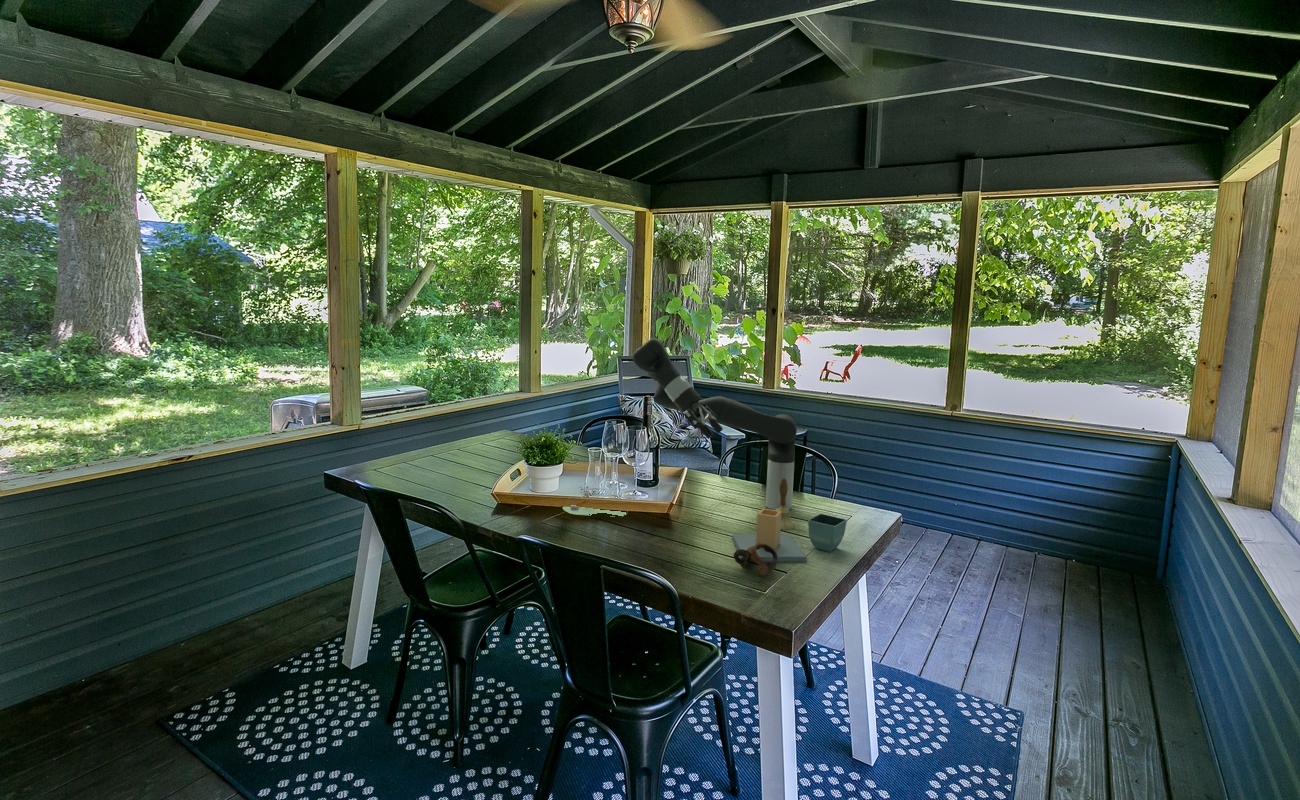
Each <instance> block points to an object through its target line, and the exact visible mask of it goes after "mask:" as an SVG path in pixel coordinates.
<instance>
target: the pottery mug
mask: <svg viewBox="0 0 1300 800" xmlns="http://www.w3.org/2000/svg"><path fill="white" fill-rule="evenodd" d="M759 548H764V549H765V551H766V552H769V553H772V555H773V558H774V560H773V561H768V562H766V564H765V562H764V560H763V559H762V558H761V557H760V556H759V555H758V554H757V552H756V550H758V549H759ZM741 556H743V557H741ZM740 557H741V558H740ZM733 559H734V561H735V562H736V564H739V565H740V567H741V568H742V569H745V565H746V563H753V564H757V565H758V566H759V567H761V568H760V571H759V572H758V574H759V576H761V577H765V576H766V575H767V573H768V574H769V573H771V572H772V571H774V570H775V569H776V567H777V564H778V562H777V560H778V556H777V553H776V552H775V550H774V549H773V548H772V547H770V546H768V545H766V544H762V543H758V544H756V545H755V546H752V547H750V548H748V549H747V550H743V549H739V550H738V549H737V550H735V551H734V552H733Z"/></svg>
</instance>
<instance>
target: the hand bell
mask: <svg viewBox="0 0 1300 800" xmlns="http://www.w3.org/2000/svg"><path fill="white" fill-rule="evenodd" d="M787 491H788V485H787V482H786V479H785V478H782V481H781V483H780V495H781V503H780V508H777V509H776V511H781V529H780V531H781V530H785V531H788V530H792V529H794V528H795V527H796V526H795V523H794V522H793V521H792V518H791V513H790V509H787V508H786V495H787Z"/></svg>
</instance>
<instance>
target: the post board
mask: <svg viewBox="0 0 1300 800" xmlns="http://www.w3.org/2000/svg"><path fill="white" fill-rule="evenodd" d="M756 537H757V533H743V534H741V533H739V534H737V533H735V534H734V533H732V534H731V540H732V542H733V544H734V543H735V544H734V545H736V546H735V547H737V548H736V549H737V550H739V549H743V550H747V549H748V548H750V547H752V546H755V545H756ZM756 552H757V554H758V555H759V556H760V557H761V558H762V559H763V560H764V563H767V562H768V561H773V560H774V558H773V555H772V553H769V552H766V551H765V549H764V548H759V549H758V550H756ZM775 552H776V553H777V556H778V560H777V563H783V562H784V563H785V562H787V563H788V562H789V563H793V562H795V563H799V562H800V563H801V562H807V559H808V557H807V555H806V553H805V552H804V551H803V550H802V548H801V547H800V545H799V544H798V543H797V542H796V541H795V540H794V538H793V536H791V534H790V533H780V544H779V545H778V546H777V547H776V549H775ZM740 557H741V558H742V557H743V556H740Z"/></svg>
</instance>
